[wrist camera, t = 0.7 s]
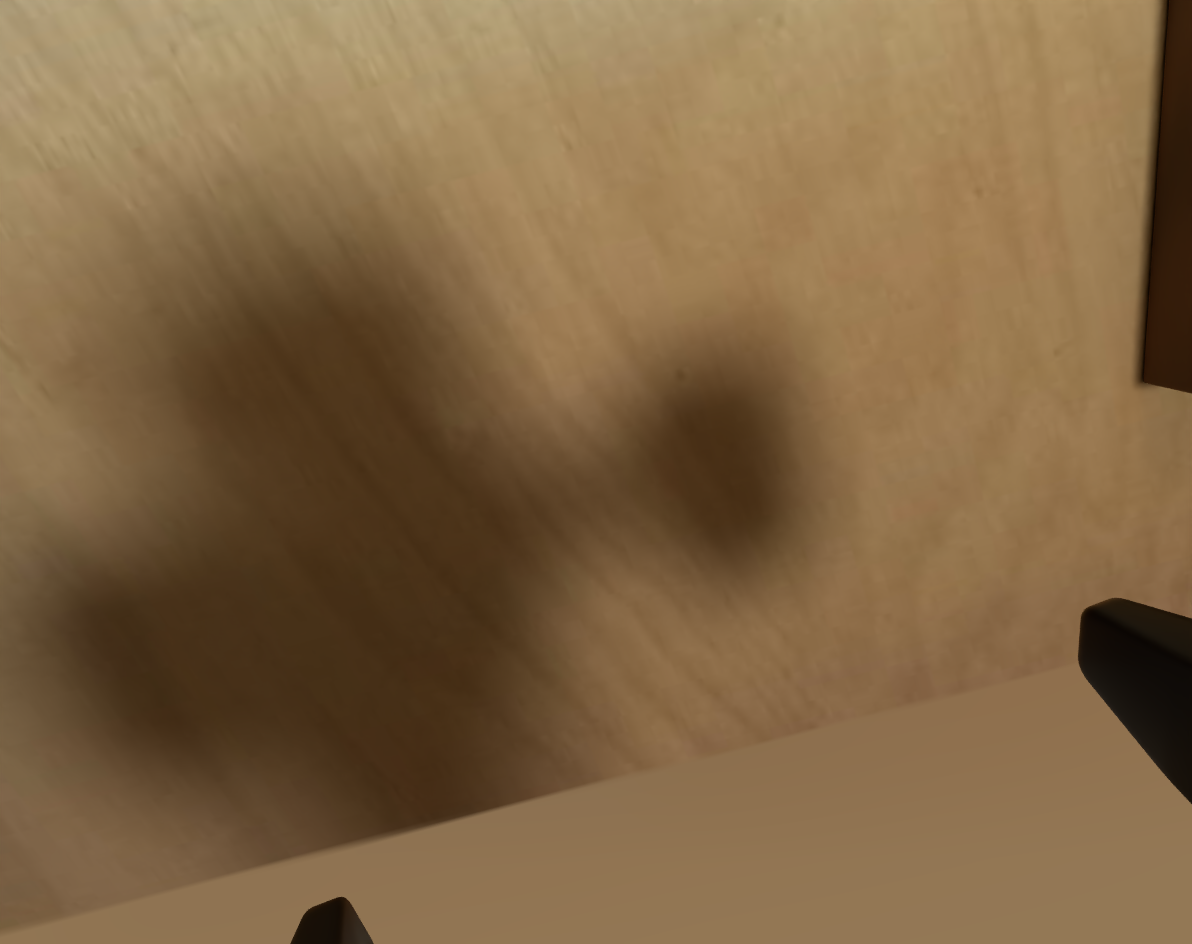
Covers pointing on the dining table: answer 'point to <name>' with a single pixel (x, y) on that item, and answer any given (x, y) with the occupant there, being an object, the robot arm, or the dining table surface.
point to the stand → (1173, 217)
